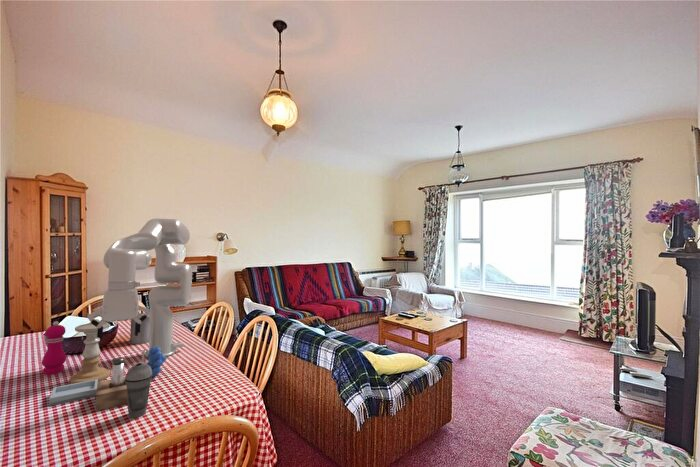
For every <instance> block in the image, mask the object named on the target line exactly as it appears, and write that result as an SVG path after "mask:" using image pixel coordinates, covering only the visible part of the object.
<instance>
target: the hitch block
mask: <svg viewBox="0 0 700 467" xmlns="http://www.w3.org/2000/svg"><path fill="white" fill-rule="evenodd" d="M125 378H126V376H124V381H123V386H119V387H114V388H112V379H106V380H105V379H104V380H101V381H99V382H97V393H96V396H95V397H96V398H95V412H97V411H102V410H107V409H112V408H115V407H120V406H124V405H128V400H127V387H126V381H125Z"/></svg>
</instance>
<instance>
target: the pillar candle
mask: <svg viewBox="0 0 700 467" xmlns="http://www.w3.org/2000/svg"><path fill="white" fill-rule="evenodd" d="M144 313H145V312H141V313H139V312H138V317H139V318H140V317H142V316H143V315H144ZM135 323H136V321H135V320H134V319H130V334H129V339H130V340H129V343H130V344H131V345H142V344H147V343H149V334H150V313H149V314H148V316H147V318H146V319H145V320H144V321H143V322H142V323H141V324H140V333H138V336H135Z"/></svg>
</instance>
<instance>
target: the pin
mask: <svg viewBox="0 0 700 467" xmlns="http://www.w3.org/2000/svg"><path fill="white" fill-rule="evenodd" d="M111 371H112V372H111V378H112V388H114V387H119V386H123V381H124V377H125V357H123V356H122V357H121V356H120V357H115V358H113V359H112V370H111Z"/></svg>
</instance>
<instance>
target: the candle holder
mask: <svg viewBox="0 0 700 467" xmlns="http://www.w3.org/2000/svg"><path fill="white" fill-rule="evenodd" d="M102 327H103V330H106V329H108V328H109V327H110V323H109V322H106V323H105V324H104V325H103V326H102ZM74 331H75V332H78V333H83V335H85V336H86V338H85V339H84V340H83V344H84V345H85V346H84V349H83V351H82V354H81V356H82V358H83V359H82V360H81V361H80V362H81V364H82V365H83V367H82V369H80V370H79V371H77V372H76V373H74V374H72V375H71V376H70V378H69V379H68V381H69V383H70V384H75V383H80V382H85V381H91V380H96V379H98V382H100V381H105V379H106V380H107V378H109V376H110V375H111V370H110V369H109V368H105V367H102V366H99V362H100V361H101V359H102V358H101V357H100V355H101V349H100V345H99V342H100V341H101V340H100V337H99V338H97V332H98V328H97V327H96V326H94V325H93V324H91V322H89V323H84V324H79V325H78V326H75V327H74ZM70 384H69V385H70Z"/></svg>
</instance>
